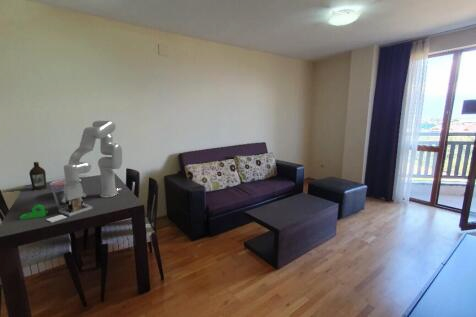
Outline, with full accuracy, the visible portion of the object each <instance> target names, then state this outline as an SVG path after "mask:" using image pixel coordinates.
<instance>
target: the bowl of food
mask: <svg viewBox="0 0 476 317" xmlns="http://www.w3.org/2000/svg"><path fill="white" fill-rule="evenodd" d="M65 185H66V182H65V178H64V179H59V180H54V181H52V182H50V183H49V187H50V189H51V190H52V192H53V191H57V190H61V189H64V186H65Z"/></svg>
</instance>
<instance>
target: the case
mask: <svg viewBox="0 0 476 317" xmlns="http://www.w3.org/2000/svg"><path fill="white" fill-rule="evenodd" d="M52 194H53V197H54V201H55V203H56V206H57V209H58V212H59V213H61V214H62V215H66V216H68V217H72V216H74V215H77V214H80V213H83V212H86V211H89V210H93V205H89V204H87V203H85V201H84V200H83V201H82V209H80V210H77V211H73V212H72V211H68V210H70V209H69V208H68V204H67V203H65V202H62V199H63V198H64V189H61V190H57V191H52ZM65 201H67V199H66V200H65Z"/></svg>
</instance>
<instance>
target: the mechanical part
mask: <svg viewBox="0 0 476 317" xmlns="http://www.w3.org/2000/svg"><path fill="white" fill-rule="evenodd" d="M38 209H40V210H38ZM48 213H49V211H48V210H45V206H44V205H42V204H38V203H37V204H35V205H34V206H33V207H32V211H30V212H25V213H23V214H22V215H20V216H19V219H20V220H26V219H27V220H28V219H34V218H42V217H43V218H44V217H46V215H48Z"/></svg>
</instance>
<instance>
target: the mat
mask: <svg viewBox="0 0 476 317" xmlns="http://www.w3.org/2000/svg"><path fill="white" fill-rule="evenodd" d="M66 218H68V217H67V215H66V216H65V214H59V215H55V216H53V217H49V218H46V219H45V220H46V221H48V222H49V223H51V224H52V223H54V222H57V221H58V222H59V221H60V220H64V219H66Z"/></svg>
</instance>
